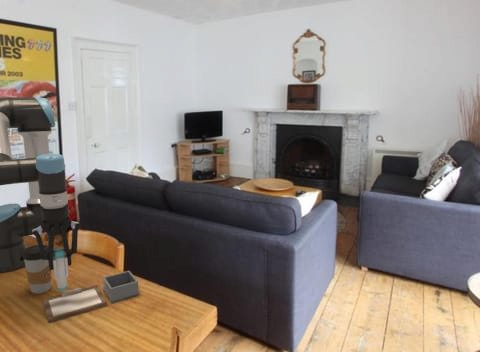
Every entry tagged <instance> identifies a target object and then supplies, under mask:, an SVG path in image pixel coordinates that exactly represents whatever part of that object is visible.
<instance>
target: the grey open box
mask: <svg viewBox="0 0 480 352" xmlns="http://www.w3.org/2000/svg"><path fill="white" fill-rule="evenodd" d="M102 281H103V283H102V285H103V292H104V293H105V295H106V297H107V299H108V300H109V302H110V303H111V304H113V303H116V302H119V301H122V300H126V299H129V298H133V297H137V296H139V295H140V293H139V290H140V289H139V281H138V280H137V278H136V277H135V276H134V275H133V273H132V271H130V270H126V271H123V272H119V273H115V274H111V275H107V276H103V277H102Z"/></svg>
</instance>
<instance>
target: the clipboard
mask: <svg viewBox="0 0 480 352" xmlns="http://www.w3.org/2000/svg"><path fill="white" fill-rule="evenodd" d="M42 305H43V308H44V311H45V316H46V318H47V322H48V324H51V323H53V322H56V321H60V320H64V319H66V318H67V319H68V318H70V317H75V316H76V315H80V314H84V313H87V312H91V311H94V310H97V309H101V308H104V307H108V301H107V300H106V298H105V296H104V294H103V292H102V291H101V289H100V287H99V286H98V284H96V285H92V286H88V287H85V288H84V287H83V288H81V287H77V288H73V289H69V290H66V291H65V290H64V291H60V294H57V295H54V296H50V297H45V298H42Z"/></svg>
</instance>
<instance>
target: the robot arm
mask: <svg viewBox="0 0 480 352" xmlns="http://www.w3.org/2000/svg"><path fill="white" fill-rule="evenodd" d="M55 121H56V119H55V115H54V110H53V108H52V105H51V102H50V101H49V100H48V99H47V98H46V97H37V96H35V97H30V96H28V97H25V96H24V97H20V96H19V97H18V96H17V97H13V96H11V97H8V96H2V97H0V186H4V185H5V186H6V185H14V184H25V183H28V191H29V192H28V194H29V198H28V199H27V200H26V202H25V204H26V206H21V205H20V204H19V203H7V204H2V205H0V273H7V272H11V271H15V270H19V269H21V268H24V267H26V266H25V261H24V259H23V253H24V250H25V249H26V248H28V247H27V245H26V242H25V238H24V237H29V236H34V237H35V239H36V242H37V245H38V246H39V250H40V254H41V258H42V260H48V263H49V269H50V270H51V271H52V273H53V278H54V281H56V280H58V276H57V266H56V260H55V259H54V254H53V251H54V250H55V248H54V247H55V237H56V236H57V235H58V236H61V241H62V245H63V248H64V249H65V258H64V259H65V270H66V277H67V278H69V277H70V274H69V267H70V266H72V256H73V255H76V254H77V252H78V237H79V235H78V233H79V229H80V227H81V224H80V223H79V222H78V221H73V220H72V219H71V217H70V211H69V209H70V208H69V205H68V203H69V201H68V199H69V197H68V189H67V177H66V164H65V158H64V156H63V155H62V154H59V153H50V145H49V135H50V134H51V133H52V128H55V127H56V122H55ZM8 129H17V134H19V135H20V136H21V137H22V139H23V148H24V155H25V158H13V155H12V147H11V143H10V138H9V137H10V136H9V131H8ZM69 228H71V247H70V245H69V241H68V237H67V233H66V232H67V231H68V230H69ZM42 234H47V235H48V236H47V238H48V240H47V241H48V243H47V246H48V255H47V254H45V250H44V246H43V245H44V243H43V238H42V236H41V235H42ZM70 248H71V249H70Z"/></svg>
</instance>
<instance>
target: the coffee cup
mask: <svg viewBox="0 0 480 352" xmlns="http://www.w3.org/2000/svg"><path fill="white" fill-rule="evenodd" d="M43 246H44V250H45V254H47V255H48V244H43ZM23 259H24V261H25V266H24V267H25V272H26V277H27V282H28V286H29V290H30V292H31V293H32V294H38V295H39V294H43V293H46V292H48V291H49V290H50V289H51V287H52V270H50V269H49V263H48V260H42V258H41V254H40V250H39V246H38V244H36V245H31V246H29V247H27V248H26V249H25V250H24V253H23Z"/></svg>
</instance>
